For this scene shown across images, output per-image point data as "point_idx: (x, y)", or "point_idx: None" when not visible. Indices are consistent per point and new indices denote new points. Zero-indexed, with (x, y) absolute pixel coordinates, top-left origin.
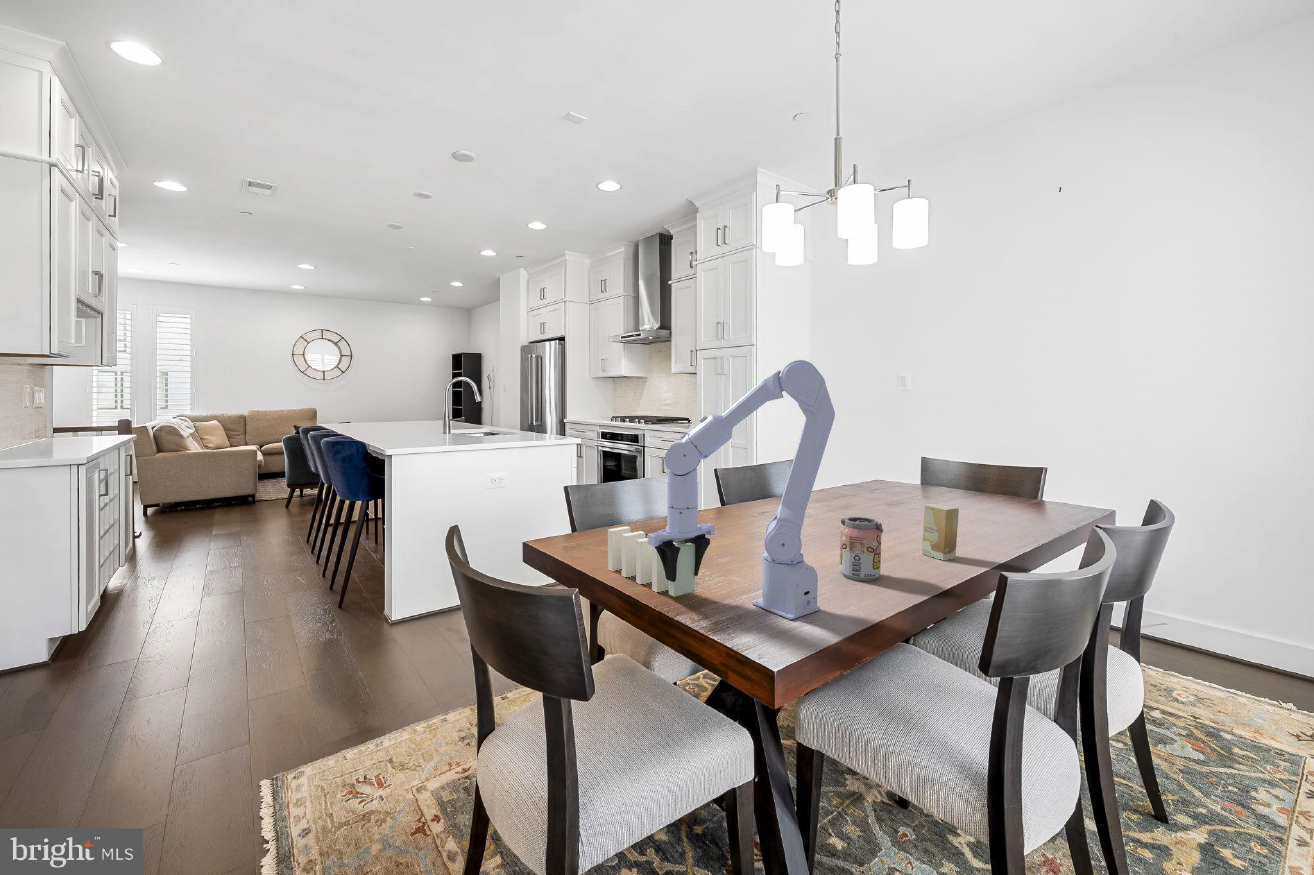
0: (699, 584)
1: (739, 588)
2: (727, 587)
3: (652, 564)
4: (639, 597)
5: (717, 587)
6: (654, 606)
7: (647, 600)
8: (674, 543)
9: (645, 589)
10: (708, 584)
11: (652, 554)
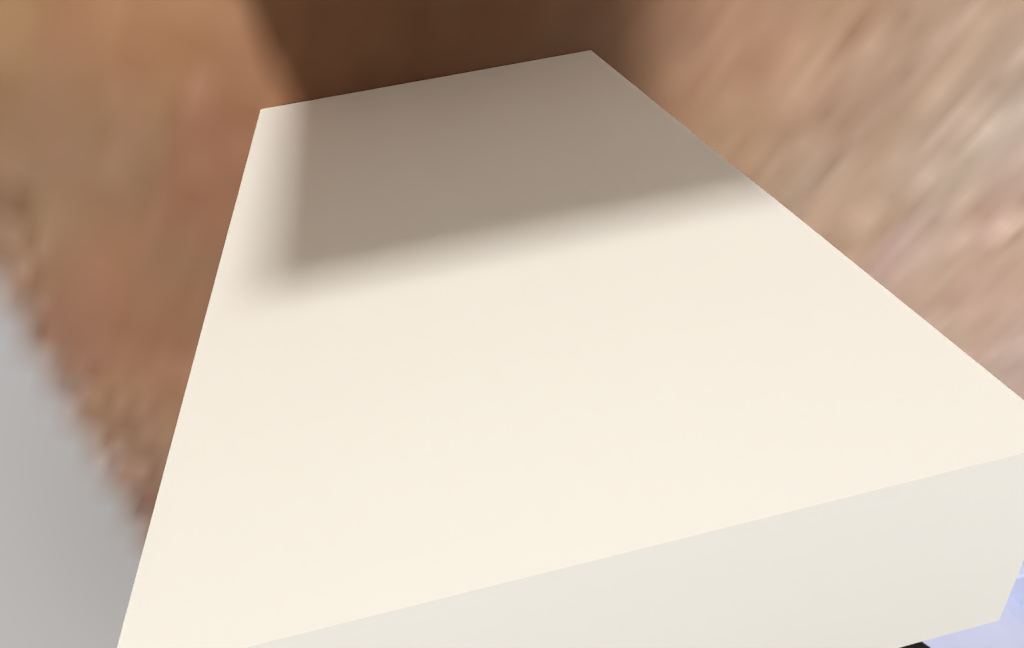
0: (869, 148)
1: (1021, 373)
2: (980, 322)
3: (220, 303)
4: (28, 245)
5: (922, 292)
6: (143, 495)
7: (111, 355)
8: (960, 592)
9: (189, 4)
10: (933, 188)
11: (180, 463)
